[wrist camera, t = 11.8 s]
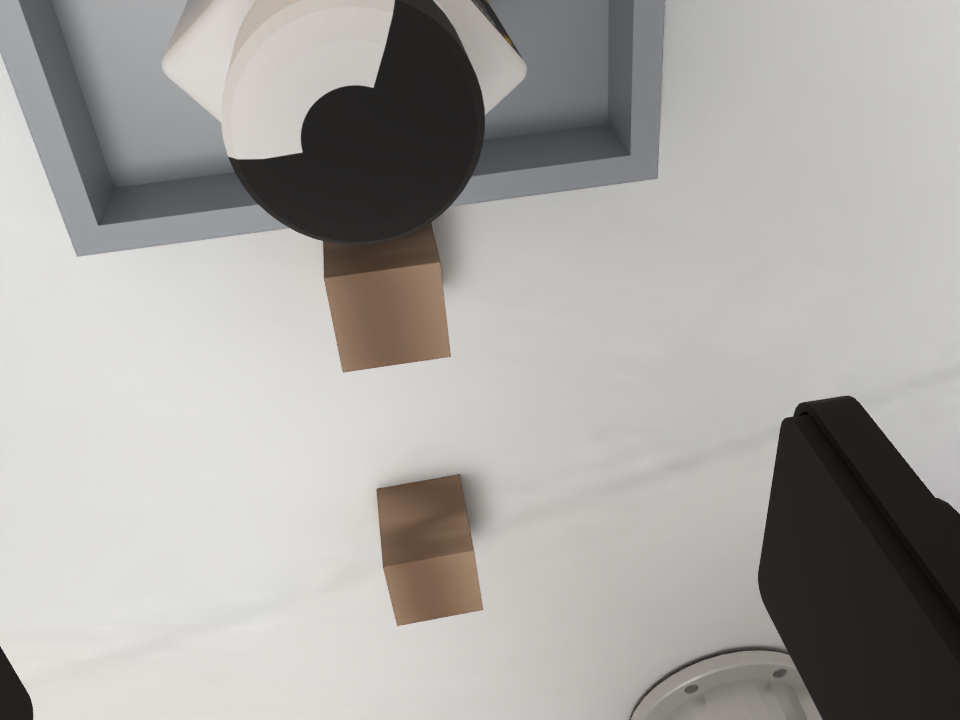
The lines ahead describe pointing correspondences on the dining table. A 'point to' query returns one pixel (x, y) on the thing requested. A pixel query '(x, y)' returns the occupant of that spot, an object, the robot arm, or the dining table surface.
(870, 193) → the dining table surface
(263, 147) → the medicine bottle
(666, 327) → the dining table surface
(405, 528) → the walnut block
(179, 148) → the tray
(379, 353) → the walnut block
